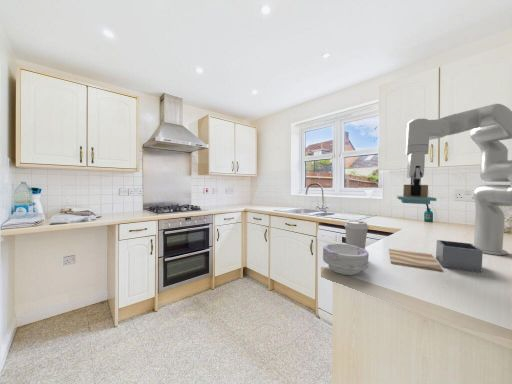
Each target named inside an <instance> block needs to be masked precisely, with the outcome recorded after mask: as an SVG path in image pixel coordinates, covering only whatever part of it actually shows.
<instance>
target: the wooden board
mask: <svg viewBox="0 0 512 384" xmlns="http://www.w3.org/2000/svg"><path fill="white" fill-rule="evenodd" d="M388 253H389V260H390V264H394V265H399V266H400V265H401V266H408V267H413V268H418V269H424V270H431V271H437V272H438V271H439V272H443V267H442V266H441V265H440V263H439V262H438V261H437V259H436V257H434V255H433V254H432V253H425V252H418V251H410V250H405V249H403V250H402V249H397V248H388Z"/></svg>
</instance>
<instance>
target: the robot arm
mask: <svg viewBox="0 0 512 384" xmlns="http://www.w3.org/2000/svg"><path fill="white" fill-rule="evenodd" d="M406 125H407V126H406V141H405V142H406V143H405V156H408V158H407V167H406V168H407V170H406V178H407V179H410V185H412V186H411V195H412V196H420V195H421V185H422V183H421V181H422V178H423V177H424V175H425V164H426V163H425V162H426V161H425V158H426V155H428V154H429V150H430V148H429V147H430V140H436V139H437V140H438V139H441V138H444V137H446V136H452V135H455V134H457V135H458V134H461V133H464V132H468V131H469V136H470V139H471V140H472V141H473V142H474V144H476V146H478V148H479V150H480V154H481V156H480V157H481V158H480V170H479V175H480V179H481V180H482V181H485V182H492V183H493V182H494V183H498V182H500V183H501V182H503V183H507V182H510V184H482V185H479V186H477V187H475V189H474V190H473V200H474V205H475V219H474V236H473V245H475V246H476V247H478V248H479V249H481V250H482V251H483V254H488V255H497V256H506V255H508V251H507V250H505V249H503V248H504V247H503V246H504V231H505V230H504V228H505V213H504V212H503V209H502V208H501V207H500V206H502V207H512V159H511V160H509V153H508V152H509V149H508V147H507V146H506V145H505V144H504V143H502V142H501V141H504V140H511V139H512V110H511V108H509V107H508V106H506V105H504V104H502V103H493V104H489V105H485V106H482V107H478V108H474V109H469V110H465V111H461V112H457V113H454V114H449V115H447V116H443V117H440V118H436V119H428V118H416V119H411V120H410V121H408V122H407V124H406Z"/></svg>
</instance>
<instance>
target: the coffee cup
mask: <svg viewBox="0 0 512 384" xmlns="http://www.w3.org/2000/svg"><path fill="white" fill-rule="evenodd" d="M343 227H345V242H346V243H345V244H348V245H353V246H357V247H360V248H363V249H365V250H366V243H367V236H368V235H367V234H368V230H369V228H370V227H369V225H368V222H366V221H361V220H346V221H345V223H344V225H343Z"/></svg>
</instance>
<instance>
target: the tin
mask: <svg viewBox="0 0 512 384" xmlns="http://www.w3.org/2000/svg"><path fill="white" fill-rule="evenodd" d="M483 254H484V253H483V251H482V250H481V249H479V248H478V247H476V246H475V245H474V243H468V242H461V241H459V242H458V241H451V240H441V239H436V249H435V260H436V261H437V262H438V264H439V265H440V267H441V268H447V269H453V270H458V271H459V270H460V271H467V272H473V273H478V274H479V273H480V274H482V269H483Z"/></svg>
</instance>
